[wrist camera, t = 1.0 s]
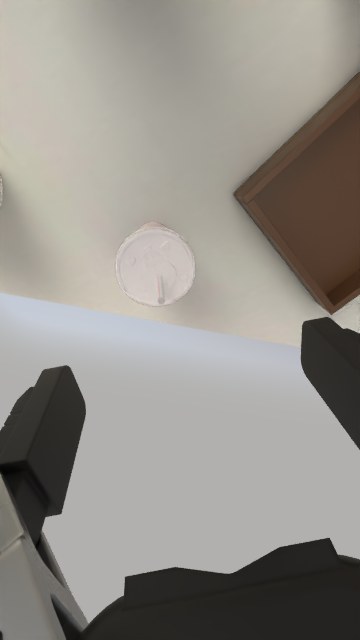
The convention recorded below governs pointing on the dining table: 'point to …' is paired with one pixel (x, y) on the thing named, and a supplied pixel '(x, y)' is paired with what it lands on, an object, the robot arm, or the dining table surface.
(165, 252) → the smoothie
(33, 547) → the robot arm
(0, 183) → the cylinder with rectangular tab
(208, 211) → the dining table surface
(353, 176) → the tray
